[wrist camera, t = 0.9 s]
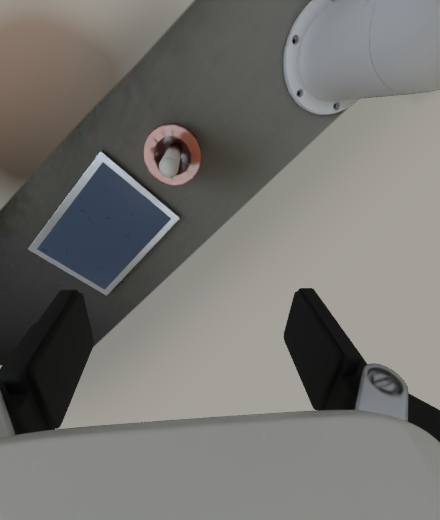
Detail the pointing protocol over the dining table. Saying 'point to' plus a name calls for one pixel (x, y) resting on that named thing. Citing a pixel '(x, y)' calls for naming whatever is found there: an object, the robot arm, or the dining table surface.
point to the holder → (159, 145)
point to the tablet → (104, 226)
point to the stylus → (170, 161)
